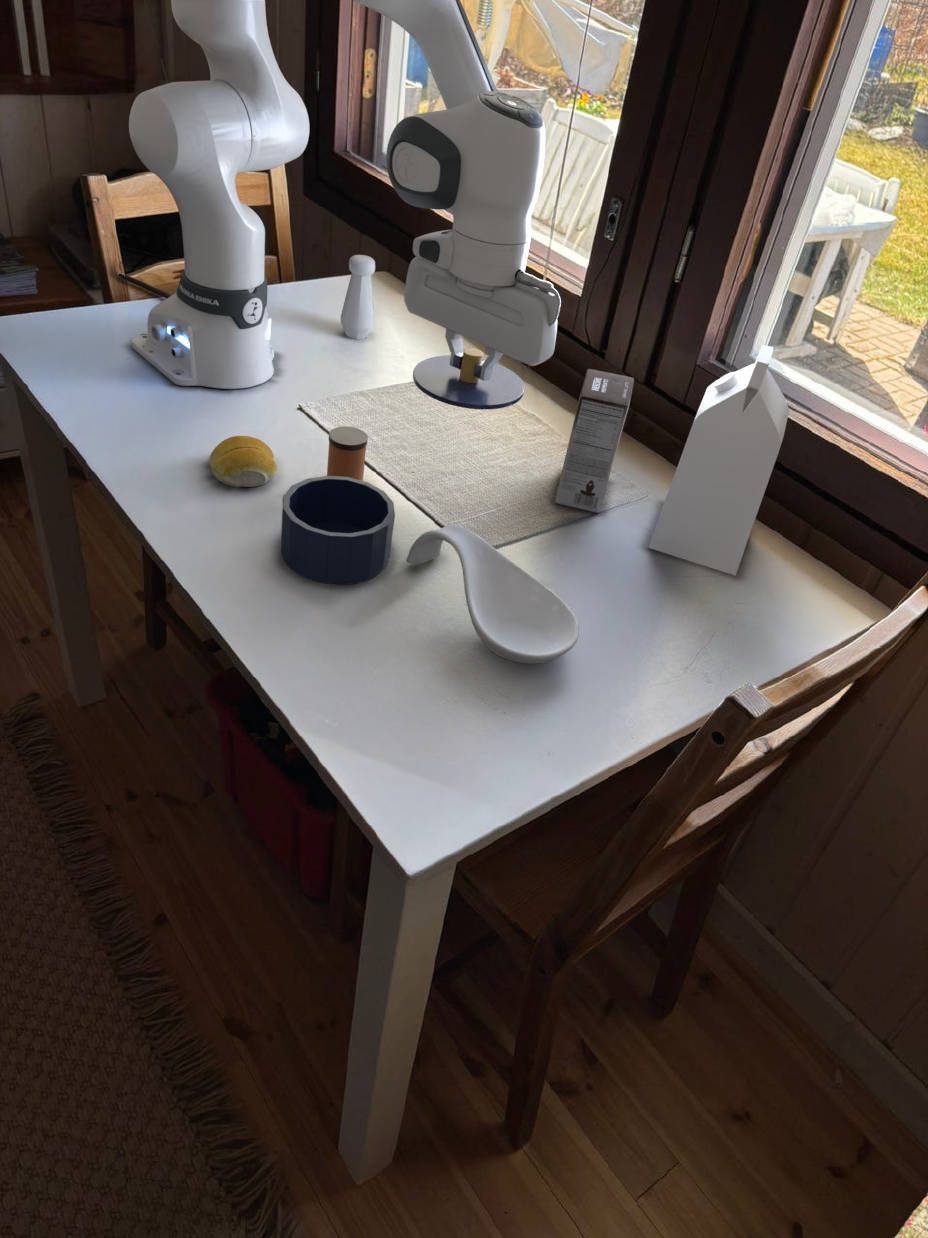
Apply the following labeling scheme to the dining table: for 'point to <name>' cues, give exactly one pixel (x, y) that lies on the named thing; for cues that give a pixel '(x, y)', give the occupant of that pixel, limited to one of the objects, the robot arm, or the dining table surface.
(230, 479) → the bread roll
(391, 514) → the tin
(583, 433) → the coffee box
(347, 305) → the salt shaker
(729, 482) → the milk
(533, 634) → the spoon rest
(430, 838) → the dining table surface
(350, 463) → the cylinder
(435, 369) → the tin lid
